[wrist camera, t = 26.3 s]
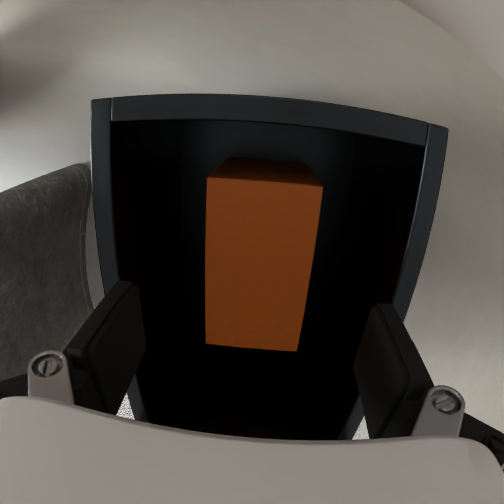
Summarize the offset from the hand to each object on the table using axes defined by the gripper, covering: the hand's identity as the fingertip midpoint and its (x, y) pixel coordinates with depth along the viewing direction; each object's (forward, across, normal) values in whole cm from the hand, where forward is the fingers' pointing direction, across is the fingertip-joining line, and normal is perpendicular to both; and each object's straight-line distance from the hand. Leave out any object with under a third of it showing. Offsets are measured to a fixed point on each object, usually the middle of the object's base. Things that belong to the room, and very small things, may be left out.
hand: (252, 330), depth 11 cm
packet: (+11, 0, 0) cm, 11 cm away
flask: (+12, +16, +4) cm, 20 cm away
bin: (+12, 0, +1) cm, 12 cm away
